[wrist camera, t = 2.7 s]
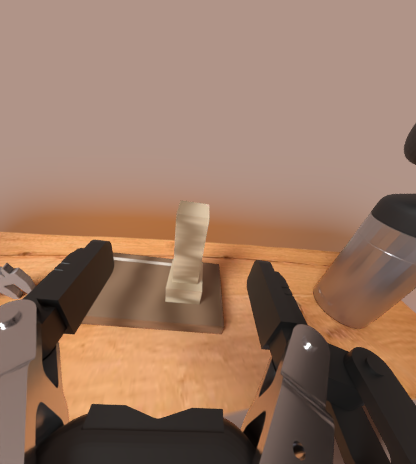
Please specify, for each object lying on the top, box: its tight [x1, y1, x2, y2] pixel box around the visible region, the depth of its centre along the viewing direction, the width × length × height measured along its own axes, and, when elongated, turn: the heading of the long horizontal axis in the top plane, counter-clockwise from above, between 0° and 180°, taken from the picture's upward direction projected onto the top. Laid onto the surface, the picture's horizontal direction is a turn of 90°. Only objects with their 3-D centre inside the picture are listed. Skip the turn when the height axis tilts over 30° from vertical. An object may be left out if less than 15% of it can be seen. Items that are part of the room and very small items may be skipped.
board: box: [77, 249, 224, 334], centre depth 28 cm, size 26×12×2 cm, turn 90°
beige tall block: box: [165, 201, 209, 304], centre depth 24 cm, size 5×7×14 cm
